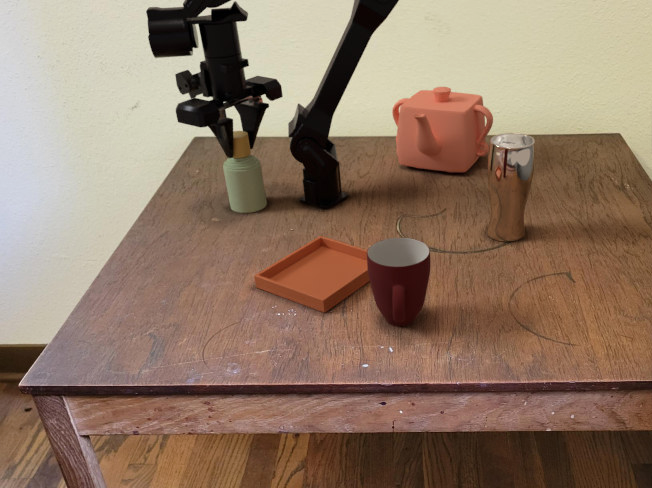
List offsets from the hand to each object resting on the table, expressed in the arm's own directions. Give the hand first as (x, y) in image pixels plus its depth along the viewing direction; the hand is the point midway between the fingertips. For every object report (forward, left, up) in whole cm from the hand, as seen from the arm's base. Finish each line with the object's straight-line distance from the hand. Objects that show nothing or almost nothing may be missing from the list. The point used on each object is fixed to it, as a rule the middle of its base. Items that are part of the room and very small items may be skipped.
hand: (240, 153), depth 121 cm
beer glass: (-14, +44, -10) cm, 47 cm away
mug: (+17, +45, -10) cm, 49 cm away
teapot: (-32, +19, -10) cm, 38 cm away
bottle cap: (0, 0, 0) cm, 0 cm away
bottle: (0, 0, -9) cm, 9 cm away
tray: (+13, +28, -9) cm, 32 cm away
